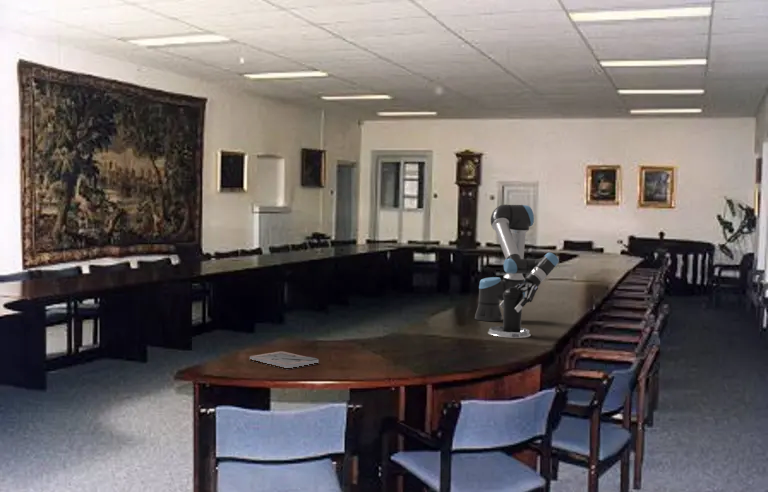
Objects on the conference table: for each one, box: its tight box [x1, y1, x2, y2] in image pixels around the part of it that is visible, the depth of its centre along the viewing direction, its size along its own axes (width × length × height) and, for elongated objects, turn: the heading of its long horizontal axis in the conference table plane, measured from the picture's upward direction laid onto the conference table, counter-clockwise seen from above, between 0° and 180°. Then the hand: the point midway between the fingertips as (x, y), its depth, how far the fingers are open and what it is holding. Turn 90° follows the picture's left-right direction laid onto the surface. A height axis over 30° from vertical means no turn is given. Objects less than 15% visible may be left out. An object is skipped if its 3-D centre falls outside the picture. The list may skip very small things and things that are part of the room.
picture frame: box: [249, 350, 319, 369], centre depth 309 cm, size 16×2×22 cm
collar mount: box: [487, 325, 531, 339], centre depth 393 cm, size 21×21×2 cm
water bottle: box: [502, 287, 524, 332], centre depth 393 cm, size 10×10×23 cm
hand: (508, 308), depth 392 cm, fingers open, 13 cm apart
